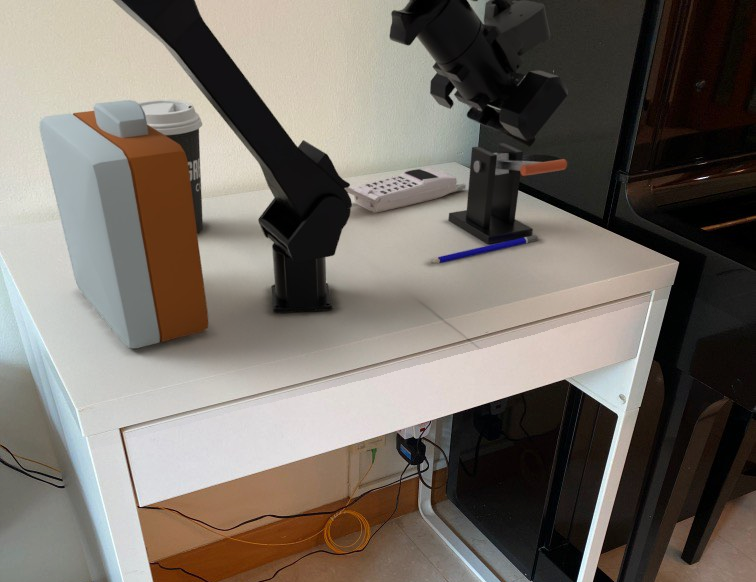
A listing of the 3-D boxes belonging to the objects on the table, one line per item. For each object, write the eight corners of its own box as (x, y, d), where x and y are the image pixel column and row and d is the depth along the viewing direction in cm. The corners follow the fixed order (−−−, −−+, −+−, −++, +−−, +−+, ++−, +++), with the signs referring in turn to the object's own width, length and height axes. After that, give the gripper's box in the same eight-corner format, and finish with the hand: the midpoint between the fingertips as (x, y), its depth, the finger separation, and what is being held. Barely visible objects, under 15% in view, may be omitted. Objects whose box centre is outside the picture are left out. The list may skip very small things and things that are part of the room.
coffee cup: (192, 246, 101) (174, 119, 91) (127, 236, 103) (104, 111, 93) (226, 222, 108) (214, 102, 98) (165, 213, 110) (147, 95, 101)
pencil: (533, 240, 105) (535, 233, 104) (538, 243, 104) (539, 235, 103) (428, 265, 98) (429, 257, 97) (432, 267, 97) (433, 260, 96)
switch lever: (566, 175, 95) (567, 153, 94) (526, 181, 93) (526, 159, 92) (508, 170, 104) (508, 150, 103) (470, 176, 102) (470, 156, 101)
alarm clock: (213, 335, 82) (185, 120, 69) (130, 356, 78) (85, 133, 65) (150, 274, 94) (116, 81, 81) (76, 290, 90) (28, 90, 77)
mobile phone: (306, 170, 107) (445, 142, 119) (307, 214, 111) (442, 182, 123) (331, 182, 103) (472, 152, 115) (331, 227, 107) (468, 193, 119)
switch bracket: (531, 237, 105) (543, 156, 98) (487, 245, 102) (496, 162, 96) (490, 214, 112) (498, 136, 105) (448, 221, 109) (453, 142, 103)
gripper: (567, -20, 72) (634, 100, 83) (459, -38, 85) (530, 68, 96) (487, 83, 74) (562, 187, 85) (394, 50, 87) (470, 145, 98)
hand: (531, 142), depth 91 cm, fingers closed
